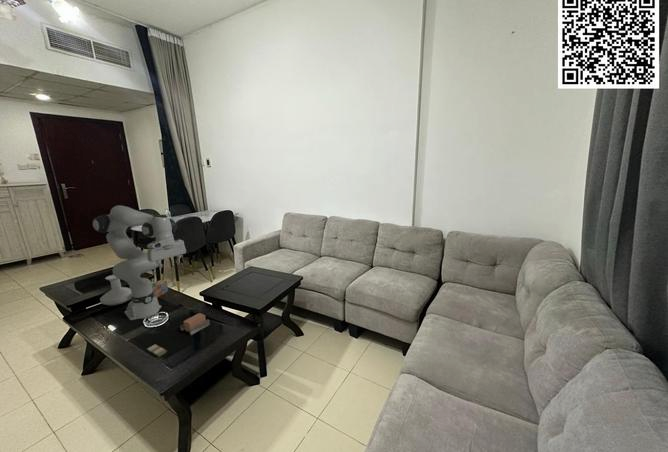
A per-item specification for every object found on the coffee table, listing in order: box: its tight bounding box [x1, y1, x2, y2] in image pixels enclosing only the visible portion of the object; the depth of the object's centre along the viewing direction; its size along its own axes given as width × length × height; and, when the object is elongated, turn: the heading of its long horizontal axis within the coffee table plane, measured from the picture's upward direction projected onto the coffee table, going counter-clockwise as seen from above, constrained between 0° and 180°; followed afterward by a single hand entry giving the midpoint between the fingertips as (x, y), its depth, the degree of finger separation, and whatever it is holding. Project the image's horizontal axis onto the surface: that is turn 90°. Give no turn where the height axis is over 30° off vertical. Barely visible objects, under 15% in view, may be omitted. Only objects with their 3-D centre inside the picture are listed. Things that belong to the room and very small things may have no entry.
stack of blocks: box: [150, 279, 169, 298], centre depth 197 cm, size 21×6×12 cm, turn 169°
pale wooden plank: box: [146, 319, 211, 358], centre depth 149 cm, size 11×32×4 cm, turn 151°
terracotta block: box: [183, 312, 207, 333], centre depth 156 cm, size 6×10×6 cm, turn 151°
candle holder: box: [99, 274, 132, 306], centre depth 191 cm, size 20×20×19 cm
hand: (169, 265), depth 154 cm, fingers open, 8 cm apart
